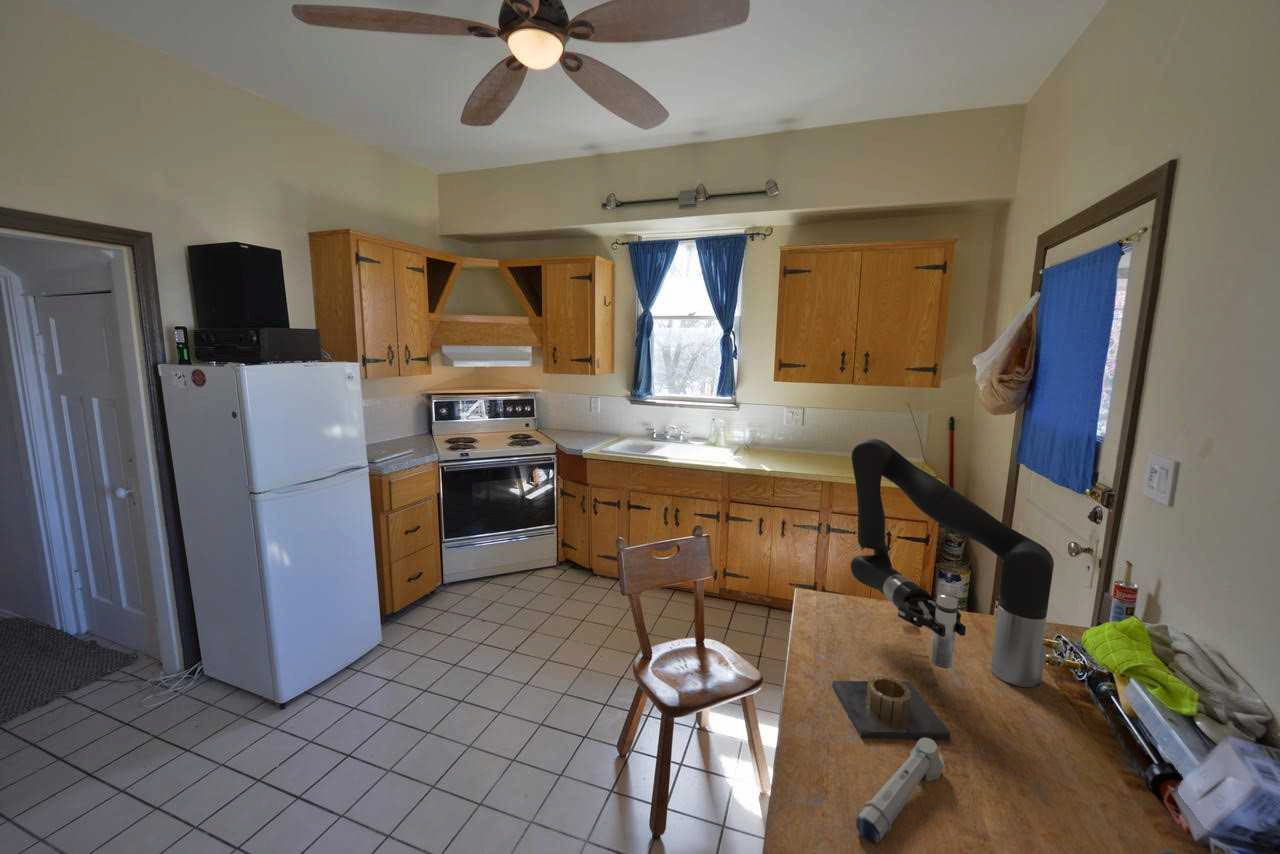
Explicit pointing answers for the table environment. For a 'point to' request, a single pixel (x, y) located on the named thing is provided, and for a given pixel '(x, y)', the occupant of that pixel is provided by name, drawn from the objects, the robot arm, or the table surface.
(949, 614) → the silver tall cylinder
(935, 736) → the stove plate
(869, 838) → the grey faceted piece
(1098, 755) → the table surface
